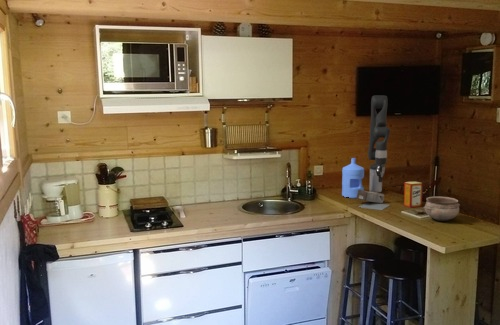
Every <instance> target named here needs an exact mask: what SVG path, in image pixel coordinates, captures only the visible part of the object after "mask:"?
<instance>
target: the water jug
mask: <svg viewBox="0 0 500 325" xmlns="http://www.w3.org/2000/svg"><path fill="white" fill-rule="evenodd" d="M350 161H351V162H350V164H347V165H346V166H343V167H342V170H341V172H342V173H341V174H342V175H341V176H342V178H341V180H342V181H341V185H342V186H341V188H342V189H341V196H342V197H343V196H344V198H346V197H349V198H348V199H357V193H358V190H363V191H365V189H364V186H363V179H364V177H365V168H364V167H362V166H361V165H358V164H357V163H356V157H352V158H351V160H350Z"/></svg>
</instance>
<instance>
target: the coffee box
mask: <svg viewBox="0 0 500 325" xmlns="http://www.w3.org/2000/svg"><path fill="white" fill-rule="evenodd" d="M356 199H357V200H360V201H364V202H370V203H378V204H384V199H385V194H384V193H381V192H370V191H368V190H364V191H363V190H358V193H357V198H356Z"/></svg>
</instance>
